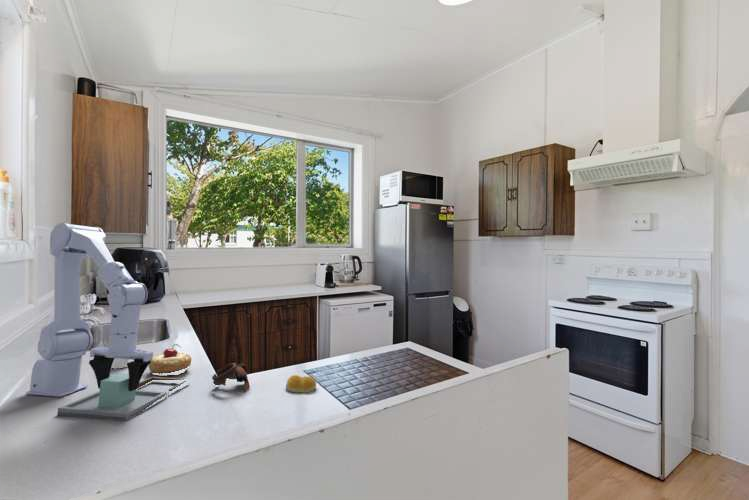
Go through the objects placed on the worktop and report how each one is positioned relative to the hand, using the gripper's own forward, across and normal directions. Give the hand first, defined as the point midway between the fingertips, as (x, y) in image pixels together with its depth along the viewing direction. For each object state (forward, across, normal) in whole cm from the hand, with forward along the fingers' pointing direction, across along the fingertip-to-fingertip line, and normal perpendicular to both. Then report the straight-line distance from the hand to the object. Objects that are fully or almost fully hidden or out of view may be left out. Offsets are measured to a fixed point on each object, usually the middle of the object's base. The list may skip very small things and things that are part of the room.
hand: (117, 388), depth 85 cm
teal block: (+3, 0, 0) cm, 3 cm away
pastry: (+4, -5, +28) cm, 29 cm away
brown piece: (+4, +21, +19) cm, 28 cm away
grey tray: (+4, 0, 0) cm, 4 cm away
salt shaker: (+4, -22, +29) cm, 37 cm away
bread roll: (+5, +40, +23) cm, 46 cm away
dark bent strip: (+4, +2, +13) cm, 14 cm away
